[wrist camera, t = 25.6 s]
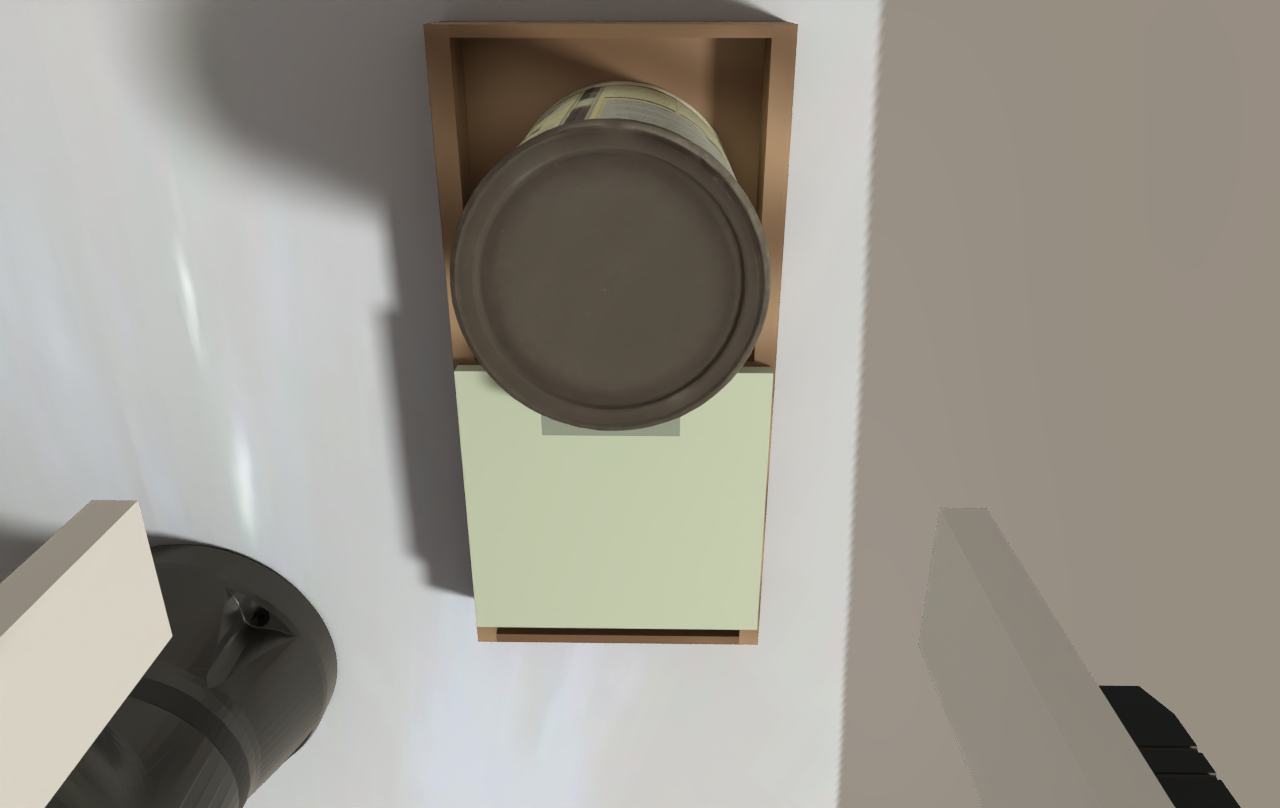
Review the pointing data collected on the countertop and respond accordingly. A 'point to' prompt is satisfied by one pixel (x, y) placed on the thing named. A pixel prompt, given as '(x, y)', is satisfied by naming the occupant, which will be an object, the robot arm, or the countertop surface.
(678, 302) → the coffee can
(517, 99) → the wooden tray
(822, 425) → the countertop surface
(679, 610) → the lid
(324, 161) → the countertop surface
